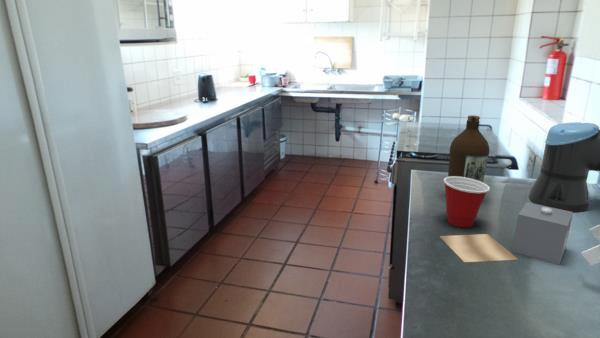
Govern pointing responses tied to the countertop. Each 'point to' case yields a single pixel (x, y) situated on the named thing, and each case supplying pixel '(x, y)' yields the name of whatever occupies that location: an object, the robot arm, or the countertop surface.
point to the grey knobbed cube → (542, 232)
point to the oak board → (477, 248)
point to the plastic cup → (463, 199)
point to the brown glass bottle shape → (469, 152)
